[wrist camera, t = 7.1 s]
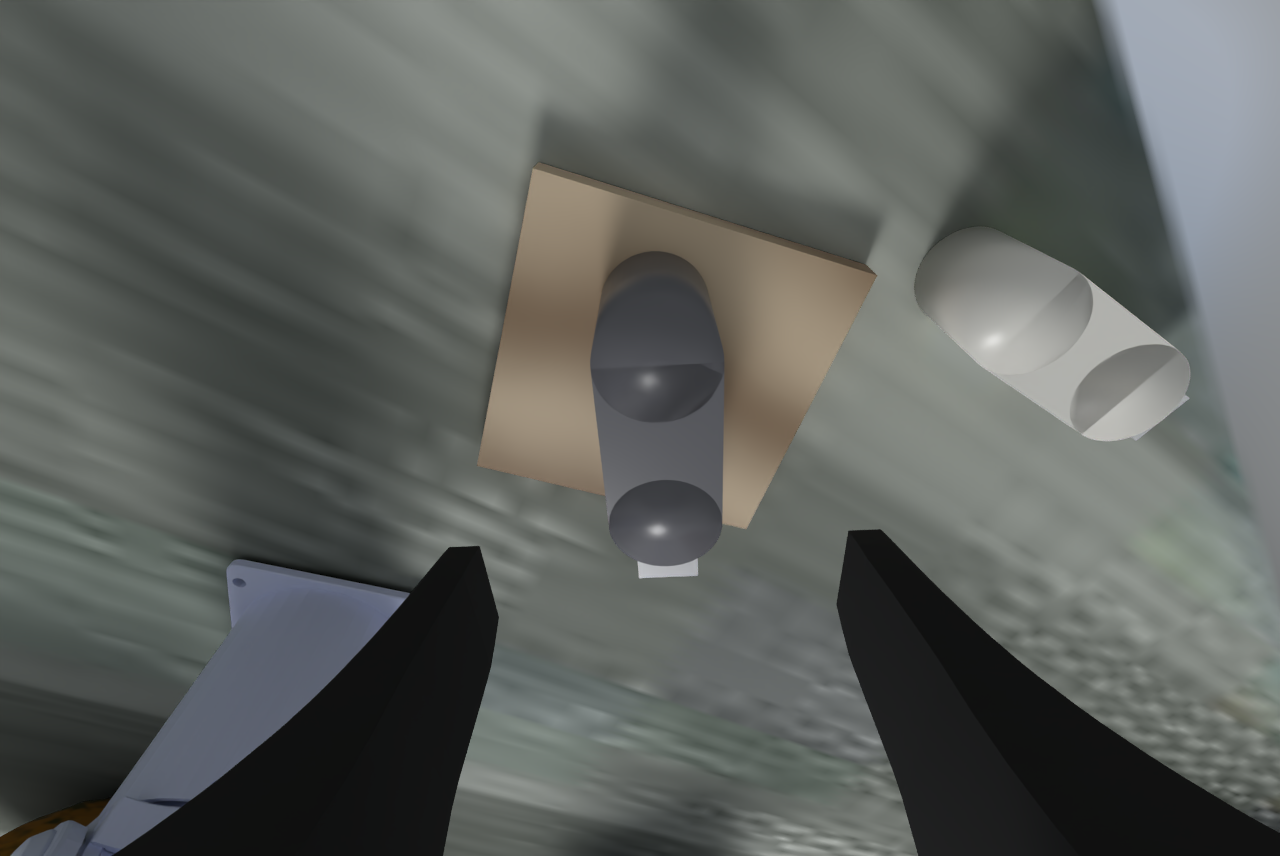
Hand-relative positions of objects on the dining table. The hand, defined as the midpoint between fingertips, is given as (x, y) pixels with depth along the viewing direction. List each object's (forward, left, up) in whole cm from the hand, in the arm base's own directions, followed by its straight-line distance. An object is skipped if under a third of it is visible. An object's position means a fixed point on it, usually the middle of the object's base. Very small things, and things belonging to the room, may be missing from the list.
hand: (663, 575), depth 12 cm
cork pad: (0, 0, -9) cm, 9 cm away
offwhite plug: (+5, -10, -9) cm, 15 cm away
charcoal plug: (-1, 0, -8) cm, 8 cm away
